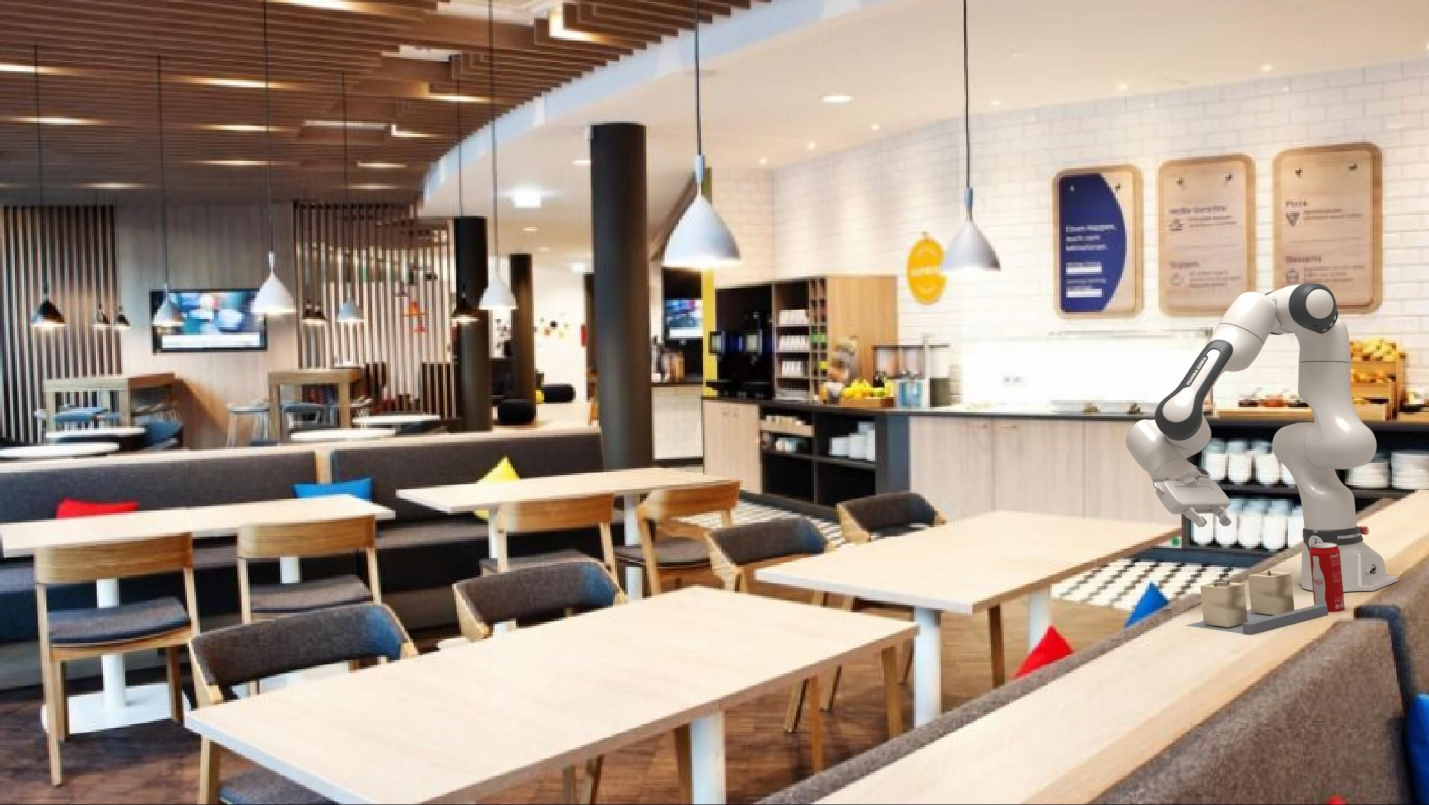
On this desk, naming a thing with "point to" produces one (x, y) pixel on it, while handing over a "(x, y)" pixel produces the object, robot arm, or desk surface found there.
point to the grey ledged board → (1270, 620)
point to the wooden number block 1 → (1271, 592)
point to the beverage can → (1327, 576)
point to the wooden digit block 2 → (1224, 603)
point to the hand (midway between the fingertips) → (1215, 525)
